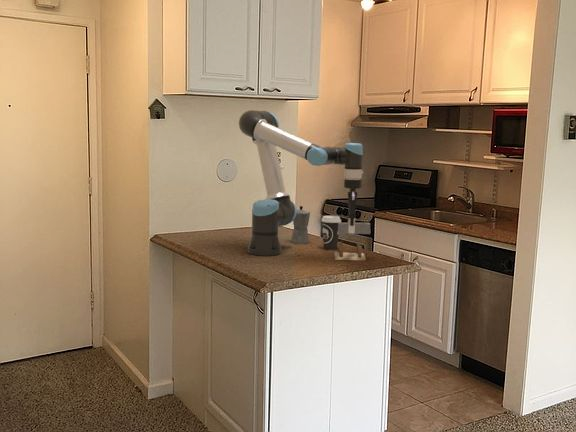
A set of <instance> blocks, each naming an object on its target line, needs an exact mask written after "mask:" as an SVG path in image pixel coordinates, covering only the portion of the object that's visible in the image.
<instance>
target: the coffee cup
mask: <svg viewBox="0 0 576 432" xmlns="http://www.w3.org/2000/svg"><path fill="white" fill-rule="evenodd" d="M320 221H321V227H322V228H321V229H322V244H323V245H322V247H323V249H325V250H337V249H338V246H339V237H340V236H339V235H340V234H338V222H342V219H341V217H340V216H338V215H323V216H322V218H321V220H320Z"/></svg>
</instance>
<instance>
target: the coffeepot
mask: <svg viewBox="0 0 576 432" xmlns="http://www.w3.org/2000/svg"><path fill="white" fill-rule="evenodd" d="M310 216H311V211H308V210H305V209H303V205H300V206H299V209H297V214H296V217H295V219H294V220H293V221H292V222H293V231H292V235H291V243H293V244H299V245H300V244H301V245H303V244H308V243H310V238H309V231H308V226H309V222H310Z"/></svg>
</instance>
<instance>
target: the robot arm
mask: <svg viewBox="0 0 576 432" xmlns="http://www.w3.org/2000/svg"><path fill="white" fill-rule="evenodd" d="M279 123H280V122H279V120H278V118H277V116H276V115H275V114H274V113H272V112H270V111H268V110H267V111H266V110H255V109H254V110H253V109H251V110H245V112H243V113H242V114H241V115H240V117H239V120H238V126H239V129H240V131H241V133H242V134H244V135H245V136H247V137H250V138H251V139H252V140H251V141H252V143H253V144H255V146H256V148H257V153H258V158H259V161H260V167H261V171H262V177H263V181H264V185H265V191H266V195H267V196H266V197H265V199H260V200H256V201H254V202H253V204H252V209H251V236H250V239H249V243H248V245H247V254H250V255H253V256H260V257H261V256H263V257H264V256H265V257H267V256H277V255H281V254H282V246H281V245H282V244H281V241H280V238H279V227H283V226H287V225H289V224H291V223H292V222H293V220H294V219H295V217H296V214H297V210H298V209H297V206H296V203H294V202H293V200H291V196H290V194H289V193H288V192H287V191H286V189H285V184H284V179H283V175H282V169H281V164H280V160H279V156H278V150H277V147H278V148H279V149H282V150H284V151H287V152H289V153H291V154H293V155H295V156H297V157H299V158H302V159H304V160H306V161H307V162H308V163H309V164H310V165H312V166H316V167H320V166H328V165H344V175H343V177H344V178H343V180H344V181H343V187H344V188H345V189H349V191H347V203H348V204H347V205H348V207H347V208H348V211H347V215H348V216H347V223H349V227H348V233H355V223H356V218H357V217H356V215H357V214H356V211H357V210H356V209H357V199H358V192H357V190H356V189H362V181H363V180H362V177H363V174H364V171H363V158H364V157H363V155H364V153H363V149H364V147H363V144H362V143H361V142H360V143H359V142H358V143H357V142H347V143H345V144H344V145H345V146H344V147H339V146H338V147H337V146H320V145H318V144H315V143H313V142H311V141H308V140H306V139H304V138H302V137H300V136H297V135H295V134H293V133H292V132H291V133H290V132H288V131H286V130H284V129H282V128H280V125H279Z"/></svg>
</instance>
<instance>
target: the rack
mask: <svg viewBox="0 0 576 432" xmlns="http://www.w3.org/2000/svg"><path fill="white" fill-rule="evenodd" d="M362 249H363V246H362V245H361V242H358V241H357V242H356V252H344V245H343V241H338V251H334V253H333V254H334V260H335V261H337V260H338V261H339V260H340V261H363V262H364V261H365V262H366V255H365V253H363V251H362Z"/></svg>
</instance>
